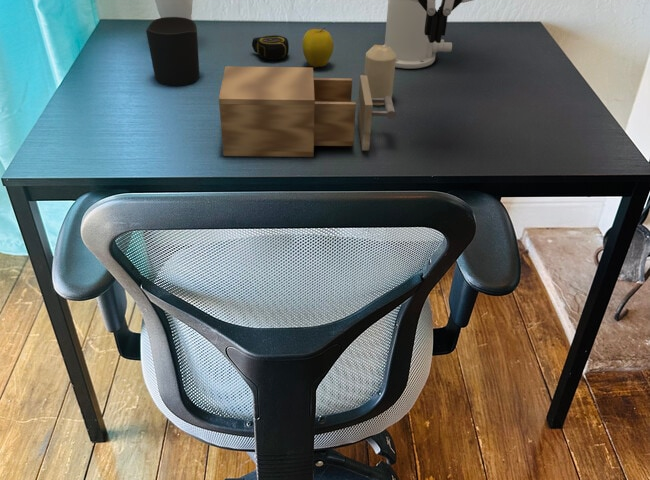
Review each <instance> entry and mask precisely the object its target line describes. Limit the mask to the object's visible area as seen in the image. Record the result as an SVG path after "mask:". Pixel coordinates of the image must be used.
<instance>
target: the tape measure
mask: <svg viewBox="0 0 650 480" xmlns="http://www.w3.org/2000/svg"><path fill="white" fill-rule="evenodd" d="M251 47H252V49H253V51H254V53H256V54H257V55H258V56H259V57H260V58H263V59H265V60H272V61H273V60H280V59H283V58H286V57H287V56H288V55H289V52H290V51H289V50H290V45H289V39H288V38H287V37H285V36H283V35H278V34H277V35H275V34H274V35H265V36H260V37H259V36H257V37H253V39H252V41H251Z"/></svg>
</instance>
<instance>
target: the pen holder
mask: <svg viewBox="0 0 650 480" xmlns="http://www.w3.org/2000/svg"><path fill="white" fill-rule="evenodd" d="M145 33H146V38H147V43H148V48H149V49H148V50H149V53H150V58H151V65H152V69H153V73H154V78H155V80H156V81H157V82H158V83H159V84H162V85H165V86H170V87H171V86H172V87H178V86H179V87H180V86H185V85H191V84H193V83H195V82H196V81H197V80H198V79H199V77H200V63H199V62H200V60H199V59H200V58H199V57H200V56H199V44H198V43H199V41H198V29H197V24H196V22H195V21H194V20H193V19H192V20H190V19H187V18H182V17H164V18H161V17H159V18H156V19H154V20H152V21H151V22H150V23H149V25H148V26H147V28H146V29H145Z"/></svg>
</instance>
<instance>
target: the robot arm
mask: <svg viewBox="0 0 650 480" xmlns="http://www.w3.org/2000/svg"><path fill="white" fill-rule="evenodd" d="M472 1H474V0H441V2H440V4H439V5H440V6H439V7H438V9H437V8H436V0H387V12H386V23H385V35H384V44H381V45H382V46H384V47H390V48H391V49H392V50H393V51H394V53H395V54H396V62H395V68H398V69H407V70H409V69H411V70H413V69H415V70H416V69H421V68H426V67H429V66H431V65H432V64H433V63H435V61H436V54H437V52H442V53H452V51H453V43H452V42H451V41H450V42H447V41H446V42H445V39H442V36H445V35H446V31H447V26H448V25H447V24H448V18H449V16H450V15H451V13H452V12H453V11H454V10H455V9H456V8H457V7H459V5H461V4H464V3H469V2H472Z"/></svg>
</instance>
